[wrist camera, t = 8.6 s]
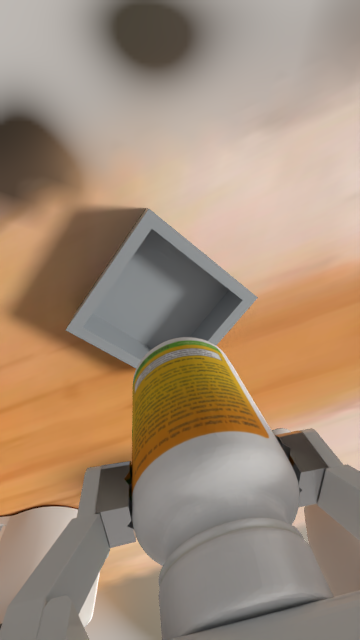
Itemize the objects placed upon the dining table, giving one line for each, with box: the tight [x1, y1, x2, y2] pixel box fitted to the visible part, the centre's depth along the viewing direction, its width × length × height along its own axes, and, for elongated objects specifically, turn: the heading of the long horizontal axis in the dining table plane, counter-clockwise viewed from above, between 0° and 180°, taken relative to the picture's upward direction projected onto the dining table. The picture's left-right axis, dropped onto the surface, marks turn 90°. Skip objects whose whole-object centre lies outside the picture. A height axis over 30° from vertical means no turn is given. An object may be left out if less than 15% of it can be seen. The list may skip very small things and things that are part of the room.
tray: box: [66, 208, 258, 369], centre depth 25 cm, size 12×12×4 cm
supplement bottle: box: [131, 337, 334, 640], centre depth 10 cm, size 5×5×10 cm
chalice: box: [272, 428, 360, 597], centre depth 30 cm, size 7×7×18 cm
